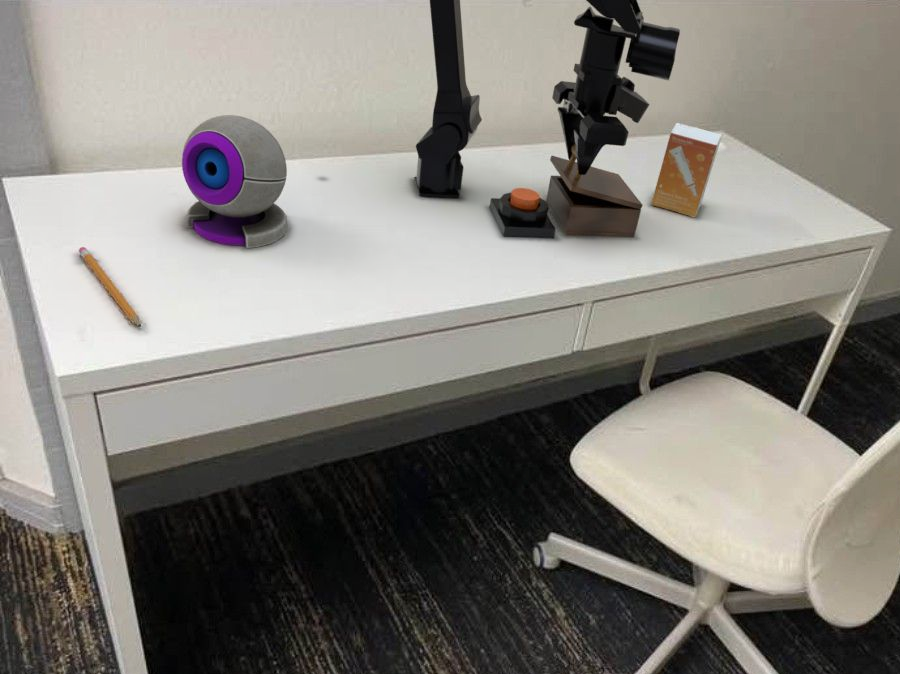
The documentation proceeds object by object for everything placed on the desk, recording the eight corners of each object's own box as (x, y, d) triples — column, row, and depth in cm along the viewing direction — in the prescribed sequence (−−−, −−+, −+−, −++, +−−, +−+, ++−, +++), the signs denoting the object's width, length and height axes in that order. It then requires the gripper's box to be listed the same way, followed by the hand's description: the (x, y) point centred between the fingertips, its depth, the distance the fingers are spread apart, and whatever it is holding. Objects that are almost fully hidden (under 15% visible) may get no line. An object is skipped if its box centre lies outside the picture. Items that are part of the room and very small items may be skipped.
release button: (541, 211, 130) (543, 200, 129) (513, 210, 128) (515, 199, 127) (534, 198, 133) (535, 188, 132) (506, 197, 132) (508, 187, 131)
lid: (570, 190, 127) (581, 162, 125) (549, 159, 136) (560, 132, 133) (640, 209, 132) (653, 182, 130) (616, 178, 141) (627, 152, 138)
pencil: (76, 252, 104) (134, 329, 94) (80, 245, 104) (138, 321, 93) (84, 254, 105) (142, 331, 94) (88, 247, 105) (146, 323, 94)
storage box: (565, 235, 132) (571, 206, 129) (545, 202, 140) (550, 175, 137) (634, 237, 135) (641, 210, 132) (610, 205, 144) (617, 179, 141)
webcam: (167, 228, 113) (155, 117, 104) (227, 196, 123) (221, 92, 114) (251, 257, 111) (246, 146, 102) (305, 222, 121) (305, 118, 112)
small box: (650, 205, 147) (669, 131, 139) (657, 193, 152) (676, 121, 144) (696, 218, 145) (717, 144, 138) (701, 205, 150) (722, 133, 143)
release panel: (553, 238, 130) (557, 217, 128) (503, 237, 128) (506, 215, 126) (537, 209, 138) (540, 189, 135) (489, 207, 135) (492, 187, 133)
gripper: (674, 91, 118) (645, 196, 127) (629, 50, 132) (606, 148, 141) (599, 83, 114) (575, 191, 123) (561, 42, 128) (542, 142, 137)
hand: (576, 167), depth 131 cm, fingers closed on lid, 5 cm apart
